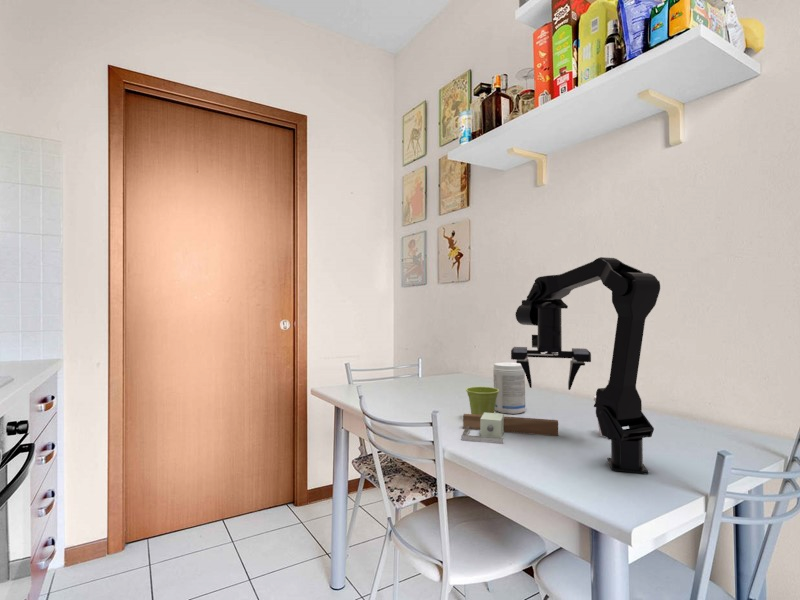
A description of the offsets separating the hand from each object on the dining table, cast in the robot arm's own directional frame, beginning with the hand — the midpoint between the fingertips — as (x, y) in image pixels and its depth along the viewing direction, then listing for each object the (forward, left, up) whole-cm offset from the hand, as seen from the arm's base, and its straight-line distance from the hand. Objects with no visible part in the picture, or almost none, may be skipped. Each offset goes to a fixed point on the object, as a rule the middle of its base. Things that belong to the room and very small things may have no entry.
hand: (549, 388), depth 111 cm
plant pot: (+12, +18, -12) cm, 25 cm away
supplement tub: (+25, +11, -12) cm, 30 cm away
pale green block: (-3, +14, -12) cm, 19 cm away
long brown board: (+2, +10, -12) cm, 16 cm away
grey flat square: (-4, +16, -12) cm, 20 cm away
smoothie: (+5, -14, -12) cm, 19 cm away
